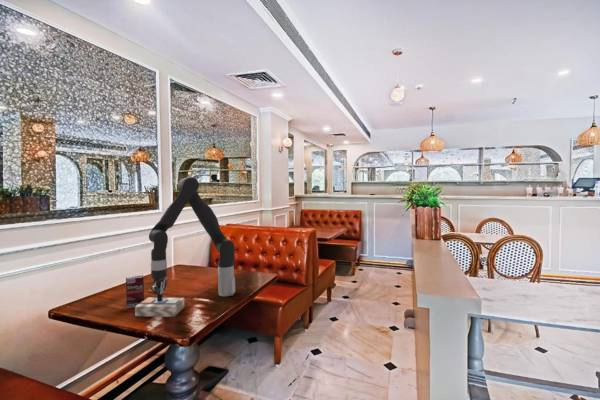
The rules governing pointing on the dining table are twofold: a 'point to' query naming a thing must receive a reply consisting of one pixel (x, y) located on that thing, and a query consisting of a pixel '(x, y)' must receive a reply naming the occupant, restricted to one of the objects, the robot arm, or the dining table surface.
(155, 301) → the pale blue cube
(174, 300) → the tile sage
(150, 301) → the tile terracotta
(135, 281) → the supplement box
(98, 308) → the dining table surface
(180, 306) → the tile board
